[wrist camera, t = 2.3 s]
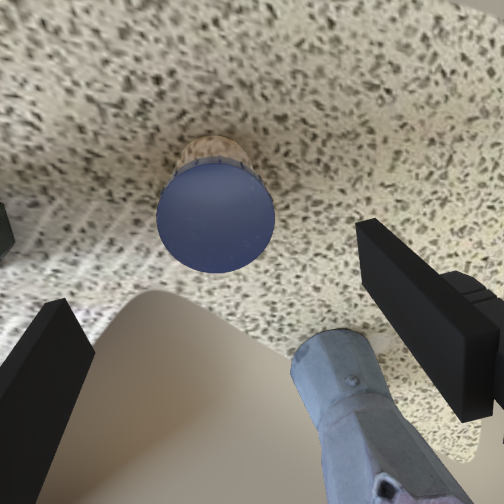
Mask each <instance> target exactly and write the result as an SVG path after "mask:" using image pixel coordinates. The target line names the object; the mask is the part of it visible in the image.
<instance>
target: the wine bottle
mask: <svg viewBox="0 0 504 504" xmlns="http://www.w3.org/2000/svg"><path fill="white" fill-rule="evenodd" d="M14 244H15V240H14V237H13V233H12V230H11V227H10V224H9V221H8V217H7V214H6V211H5V208H4V204H2V203H1V202H0V261H1V260H2V258H3V257H4V256H5V255H6V253H7V252H8V251H9V250H10V248H11V247H12V246H13V245H14Z"/></svg>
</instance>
